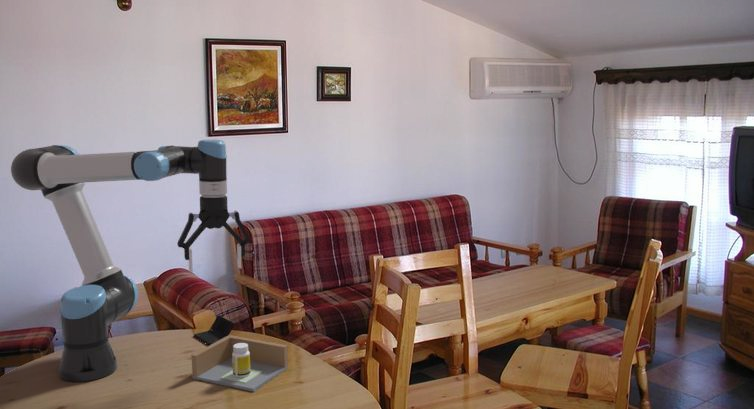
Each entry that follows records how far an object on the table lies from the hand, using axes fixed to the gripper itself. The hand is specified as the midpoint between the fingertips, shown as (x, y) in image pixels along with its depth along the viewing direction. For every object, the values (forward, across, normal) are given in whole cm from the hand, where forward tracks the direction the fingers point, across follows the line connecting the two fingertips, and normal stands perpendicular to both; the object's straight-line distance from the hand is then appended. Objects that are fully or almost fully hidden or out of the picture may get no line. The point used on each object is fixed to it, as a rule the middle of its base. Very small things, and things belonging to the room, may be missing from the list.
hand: (215, 269), depth 199 cm
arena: (+28, +5, -11) cm, 30 cm away
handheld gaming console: (+28, +1, +20) cm, 34 cm away
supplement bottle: (+27, +5, -14) cm, 31 cm away
